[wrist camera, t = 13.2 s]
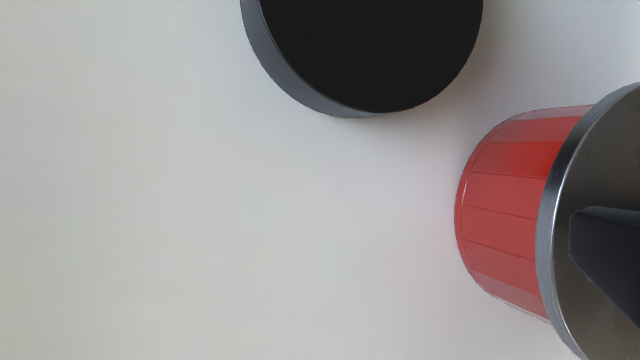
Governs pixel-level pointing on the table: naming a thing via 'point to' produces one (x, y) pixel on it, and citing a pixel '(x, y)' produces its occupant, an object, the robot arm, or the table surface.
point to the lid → (579, 193)
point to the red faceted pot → (510, 204)
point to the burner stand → (362, 50)
